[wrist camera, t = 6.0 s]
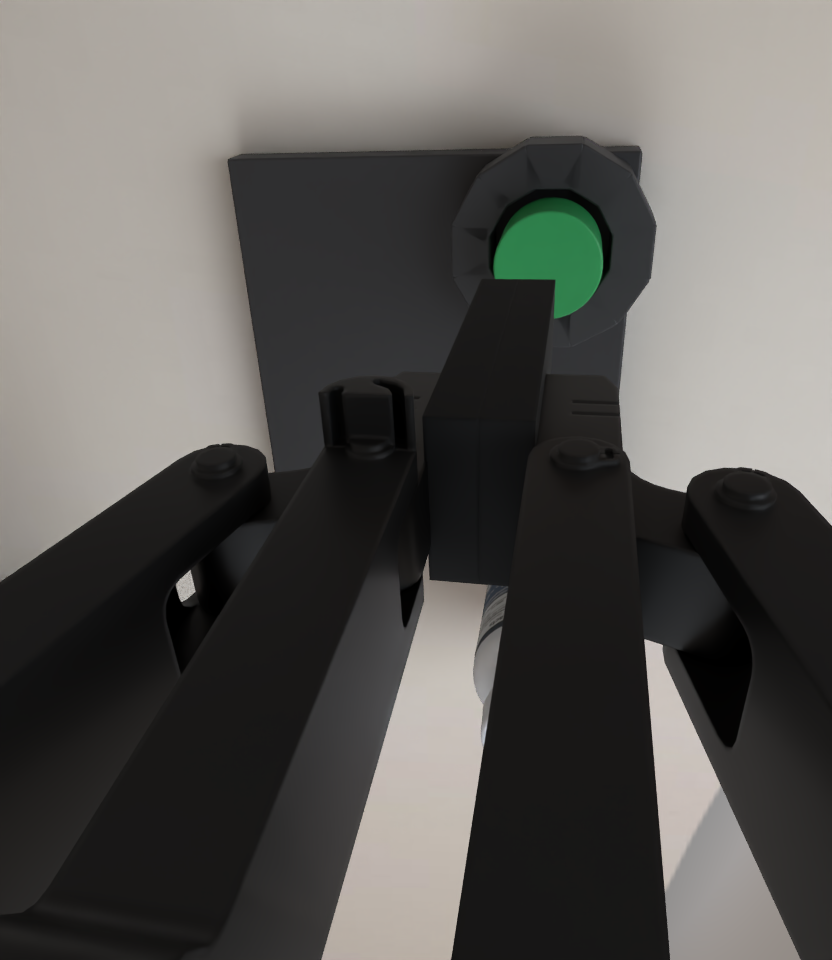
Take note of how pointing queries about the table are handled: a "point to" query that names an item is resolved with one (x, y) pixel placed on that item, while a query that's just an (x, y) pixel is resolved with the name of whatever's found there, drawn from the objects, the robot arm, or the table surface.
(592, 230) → the button
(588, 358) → the scale
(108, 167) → the table surface
